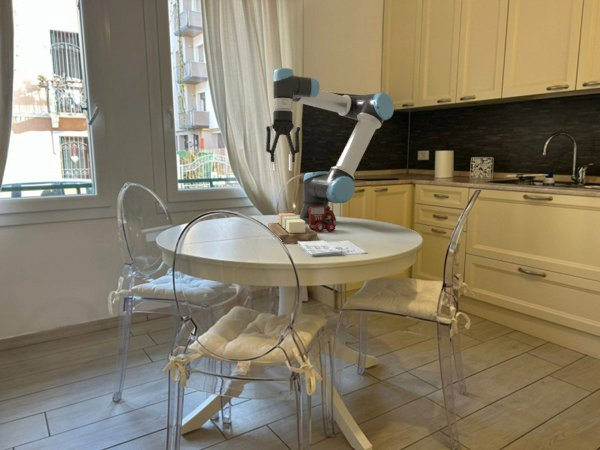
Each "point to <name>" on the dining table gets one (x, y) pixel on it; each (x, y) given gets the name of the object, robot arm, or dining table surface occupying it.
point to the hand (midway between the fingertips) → (282, 170)
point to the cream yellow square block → (295, 226)
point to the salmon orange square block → (283, 215)
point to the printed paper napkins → (330, 248)
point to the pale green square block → (287, 219)
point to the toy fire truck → (321, 219)
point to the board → (292, 234)
